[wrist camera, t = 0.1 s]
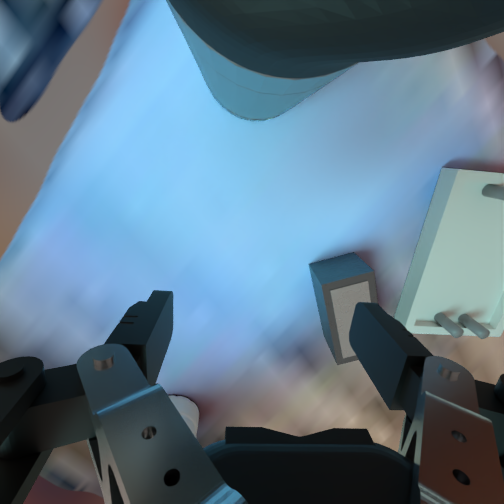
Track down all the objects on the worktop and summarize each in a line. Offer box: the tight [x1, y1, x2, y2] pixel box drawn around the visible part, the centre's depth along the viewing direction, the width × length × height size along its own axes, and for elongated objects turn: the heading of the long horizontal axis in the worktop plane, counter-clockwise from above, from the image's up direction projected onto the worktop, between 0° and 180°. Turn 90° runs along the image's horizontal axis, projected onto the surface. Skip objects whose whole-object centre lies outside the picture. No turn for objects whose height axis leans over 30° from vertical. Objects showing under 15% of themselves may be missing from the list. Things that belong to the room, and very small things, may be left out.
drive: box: [309, 252, 378, 365], centre depth 30 cm, size 10×5×5 cm, turn 15°
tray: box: [394, 167, 504, 339], centre depth 29 cm, size 18×12×4 cm, turn 175°
